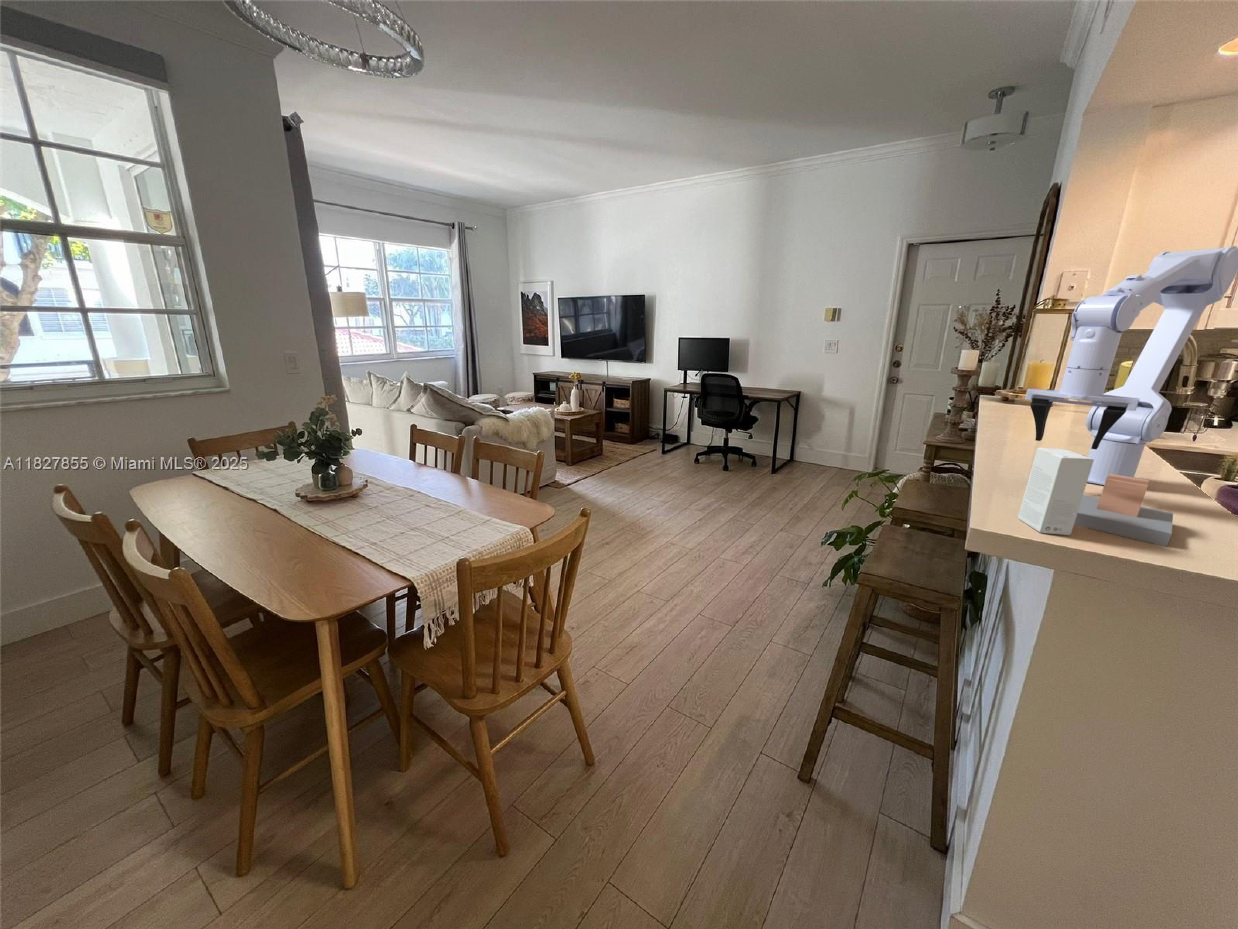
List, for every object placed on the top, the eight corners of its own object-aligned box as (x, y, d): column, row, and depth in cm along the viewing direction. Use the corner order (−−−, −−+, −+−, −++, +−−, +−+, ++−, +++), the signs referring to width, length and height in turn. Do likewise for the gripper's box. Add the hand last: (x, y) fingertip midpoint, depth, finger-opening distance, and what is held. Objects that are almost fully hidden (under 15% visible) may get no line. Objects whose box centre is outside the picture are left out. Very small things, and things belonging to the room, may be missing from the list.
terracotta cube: (1099, 502, 80) (1109, 473, 78) (1138, 510, 77) (1148, 480, 75) (1096, 508, 77) (1106, 479, 76) (1136, 517, 74) (1147, 486, 72)
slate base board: (1068, 503, 85) (1071, 492, 84) (1168, 524, 76) (1173, 512, 76) (1056, 520, 77) (1060, 508, 77) (1166, 546, 69) (1171, 533, 68)
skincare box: (1071, 536, 72) (1096, 459, 68) (1039, 533, 72) (1061, 457, 69) (1046, 520, 77) (1067, 448, 74) (1016, 518, 78) (1035, 446, 75)
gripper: (1030, 366, 86) (1011, 439, 90) (1146, 373, 76) (1119, 456, 80) (1037, 364, 91) (1019, 434, 95) (1149, 371, 80) (1123, 449, 84)
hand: (1065, 444), depth 87 cm, fingers open, 7 cm apart
